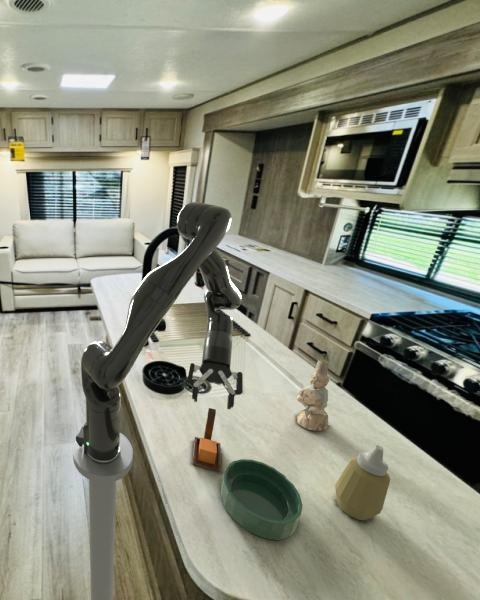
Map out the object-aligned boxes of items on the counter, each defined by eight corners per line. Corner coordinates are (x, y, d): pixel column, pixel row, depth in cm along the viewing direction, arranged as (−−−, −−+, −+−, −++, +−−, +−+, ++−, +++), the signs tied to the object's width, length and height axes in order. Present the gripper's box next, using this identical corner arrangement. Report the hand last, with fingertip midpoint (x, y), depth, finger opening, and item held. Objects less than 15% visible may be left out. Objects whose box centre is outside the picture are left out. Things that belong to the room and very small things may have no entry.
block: (198, 448, 85) (200, 437, 84) (214, 452, 84) (216, 441, 82) (198, 460, 82) (199, 448, 80) (214, 464, 81) (216, 453, 79)
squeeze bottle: (325, 486, 75) (347, 428, 68) (367, 497, 72) (394, 438, 66) (337, 518, 68) (363, 457, 61) (384, 532, 65) (416, 470, 59)
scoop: (194, 439, 89) (199, 405, 85) (219, 445, 87) (225, 411, 82) (192, 464, 82) (197, 428, 77) (219, 472, 79) (226, 436, 75)
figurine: (306, 409, 99) (323, 356, 92) (334, 428, 92) (355, 371, 84) (286, 417, 96) (302, 362, 89) (314, 437, 89) (334, 379, 81)
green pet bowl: (221, 524, 67) (224, 507, 65) (220, 467, 80) (223, 451, 78) (303, 553, 62) (310, 535, 60) (288, 487, 75) (293, 470, 73)
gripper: (192, 341, 90) (185, 397, 85) (246, 349, 85) (243, 410, 80) (191, 348, 97) (184, 401, 91) (242, 356, 92) (238, 412, 86)
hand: (211, 405), depth 85 cm, fingers open, 8 cm apart
